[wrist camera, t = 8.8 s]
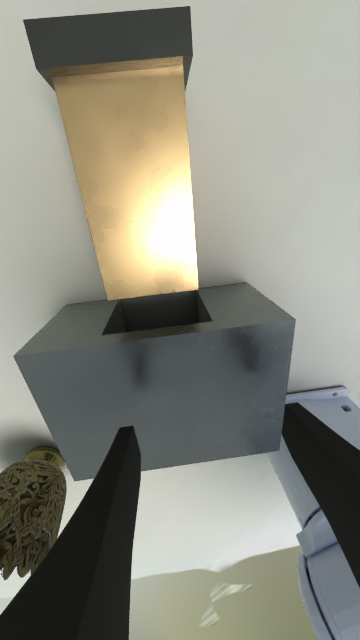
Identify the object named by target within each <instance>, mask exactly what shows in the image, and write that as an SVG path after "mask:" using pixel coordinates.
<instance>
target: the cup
mask: <svg viewBox="0 0 360 640" xmlns="http://www.w3.org/2000/svg"><path fill="white" fill-rule="evenodd" d="M61 467H62V456H61V454H60V452H58V451H57V450H56V449H53V448H51V447H37V448H35V449H33V450H31V451H30V452H29V453H28V454H27V455H26V456H25V457H24V459H23V461H20V462H17V463H15V464H13V465H11V466H9V467H8V468H6V469H5V470H4V471H3V472H1V473H0V570H2V568H3V570H2V571H3V575H2V573H1V575H2V577H3V578H4V580H7V579H8V578H9V576H10V575H11V573H12V572H13V570H14V569H15V568H14V567H16V566H17V573H18V575H19V576H20V577H21V578H22V577H24V576H25V575H26V574H27V573H28V572H29V570H30V569H31V575H32V574H33V572H34V571H35V570H36V568H37V567H38V565H39V564H40V563H41V561H42V560H43V559H44V557H45V556H46V554H47V553H48V551H49V550H50V549H51V547H52V546H53V544H54V543H55V541H56V540H57V536H58V532H59V528H60V523H61V519H62V514H63V509H64V504H65V498H66V480H65V476H64V474H63V472H62V471H61ZM17 563H18V564H17Z"/></svg>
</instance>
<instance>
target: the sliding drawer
mask: <svg viewBox="0 0 360 640" xmlns="http://www.w3.org/2000/svg"><path fill="white" fill-rule="evenodd" d="M23 21H24V25H25V29H26V32H27V36H28V40H29V44H30V47H31V51H32V55H33V59H34V62H35V66H36V69H37V70H38V72H39V73H40V74H41V75H42V76H43V78H44V79H45V80H46V81H47V82H48V84H49V85H50V86H51V87H52V88H53V90H54V91H55V92H56V95H57V99H58V103H59V107H60V111H61V115H62V119H63V123H64V127H65V131H66V135H67V139H68V143H69V147H70V151H71V155H72V159H73V163H74V167H75V171H76V175H77V179H78V183H79V187H80V191H81V195H82V199H83V204H84V208H85V212H86V216H87V220H88V224H89V228H90V232H91V236H92V240H93V244H94V248H95V252H96V256H97V260H98V264H99V268H100V272H101V276H102V280H103V284H104V288H105V292H106V296H107V300H116V299H124V298H132V297H140V296H149V295H157V294H165V293H173V292H181V291H189V290H197V289H198V275H197V260H196V246H195V231H194V217H193V203H192V188H191V174H190V159H189V145H188V130H187V116H186V102H185V90H186V85H187V80H188V76H189V71H190V66H191V61H192V57H193V50H192V32H191V14H190V6H186V7H174V8H161V9H149V10H137V11H125V12H112V13H100V14H88V15H75V16H63V17H51V18H39V19H26V20H23Z"/></svg>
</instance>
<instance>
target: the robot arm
mask: <svg viewBox="0 0 360 640" xmlns="http://www.w3.org/2000/svg"><path fill="white" fill-rule="evenodd" d="M348 393H349V390H348V389H347V388H346V387H338V388H331V389H324V390H317V391H310V392H303V393H296V394H288V395H286V401H285V409H284V417H283V425H282V433H281V442H280V450H279V451H274V452H267V453H268V455H269V458H270V460H271V462H272V464H273V466H274V469H275V471H276V473H277V475H278V477H279V480H280V482H281V484H282V486H283V488H284V491H285V493H286V495H287V497H288V499H289V501H290V504H291V506H292V508H293V510H294V512H295V515H296V517H297V519H298V521H299V523H300V526H301V528H302V531H301V532H300V533H298V534H297V535H296V536H297V539H298V541H299V543H300V546H301V548H302V550H303V551H302V552H301V553H300V554H299V556H298V561H297V566H298V567H297V568H298V583H299V588H300V592H301V597H302V600H303V603H304V607H305V609H306V612H307V615H308V618H309V620H310V623H311V625H312V628H313V630H314V632H315V634H316V636H317V639H318V640H360V408H359V407H358V406H357V405H356V404H355V403H354V402H352V401H351V400H350V399H349V398H348ZM261 454H263V453H261ZM140 479H141V453H140V449H139V445H138V441H137V437H136V434H135V430H134V426H126V427H120V428H119V429H118V431H117V434H116V436H115V438H114V441H113V443H112V445H111V447H110V449H109V451H108V453H107V455H106V457H105V459H104V461H103V463H102V465H101V467H100V469H99V471H98V473H97V475H96V477H95V478H94V480H93V482H92V484H91V485H90V487H89V489H88V491H87V492H86V494H85V496H84V498H83V499H82V501H81V503H80V504H79V506H78V508H77V509H76V511H75V512H74V514H73V516H72V517H71V519H70V520H69V522H68V523H67V525H66V527H65V528H64V530H63V531H62V533H61V534H60V536H59V537H58V538H57V540H56V541H55V543H54V544H53V546H52V547H51V549H50V550H49V551H48V553H47V554H46V556H45V557H44V559H43V560H42V561H41V563H40V564H39V565H38V567H37V568H36V570H35V571H34V572H33V574H32V575H31V576H30V578H29V579H28V580H27V581H26V583H25V584H24V585H23V587H22V588H21V589H20V590H19V592H18V593H17V594H16V596H15V597H14V598H13V600H12V601H11V602H10V603H9V605H8V606H7V607H6V609H5V610H4V611H3V612H2V614H1V615H0V640H129V639H128V638H129V610H130V585H131V584H130V583H131V564H132V549H133V539H134V530H135V522H136V514H137V505H138V497H139V488H140Z"/></svg>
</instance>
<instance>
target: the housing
mask: <svg viewBox="0 0 360 640" xmlns="http://www.w3.org/2000/svg"><path fill="white" fill-rule="evenodd" d="M197 303H198V317H199V323H195V324H187V325H180V326H172V327H164V328H156V329H149V330H141V331H133V332H127V331H126V327H125V322H124V318H123V313H122V309H121V305H120V300H119V299H116V300H102V301H94V302H86V303H78V304H70V305H66V306H65V307H64V308H63V309H62V310H61V311H60V312H59V313H58V314H57V315H56V316H55V317H53V318H52V319H51V320H50V321H49V322H48V323H47V324H46V325H45V326H44V327H43V328H42V329H41V330H40V331H39V332H38V333H37V334H36V335H35V336H34V337H33V338H32V339H31V340H30V341H29V342H27V343H26V344H25V345H24V346H23V347H22V348H21V349H20V350H19V351H18V352H17V353H16V354H15V355H14V356H13V357H14V359H15V361H16V363H17V365H18V367H19V369H20V371H21V373H22V375H23V377H24V379H25V381H26V383H27V385H28V387H29V389H30V391H31V393H32V395H33V398H34V400H35V402H36V404H37V406H38V408H39V410H40V412H41V414H42V416H43V418H44V420H45V422H46V424H47V426H48V428H49V430H50V432H51V434H52V436H53V438H54V440H55V442H56V445H57V447H58V449H59V451H60V453H61V455H62V457H63V459H64V461H65V463H66V465H67V467H68V469H69V471H70V473H71V475H72V477H73V479H74V481H80V480H86V479H93V478H95V477H96V475H97V473H98V471H99V469H100V467H101V465H102V463H103V461H104V459H105V457H106V455H107V453H108V451H109V449H110V447H111V445H112V443H113V441H114V438H115V436H116V434H117V431H118V429H119V428H120V427H126V426H134V430H135V434H136V437H137V441H138V445H139V449H140V453H141V471H147V470H153V469H160V468H167V467H174V466H180V465H187V464H194V463H200V462H207V461H214V460H220V459H227V458H234V457H241V456H247V455H254V454H261V453H267V452H274V451H279V450H280V442H281V433H282V425H283V417H284V409H285V401H286V393H287V385H288V377H289V369H290V361H291V353H292V345H293V337H294V328H295V320H296V319H294V318H293V317H292V316H290V315H289V314H288V313H286V312H285V311H284V310H283V309H281V308H280V307H279V306H277V305H276V304H275V303H273V302H272V301H271V300H269V299H268V298H267V297H265V296H264V295H263V294H261V293H260V292H259V291H257V290H256V289H255V288H254V287H252V286H251V285H250V284H248V283H240V284H232V285H224V286H216V287H207V288H199V289H197Z"/></svg>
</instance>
